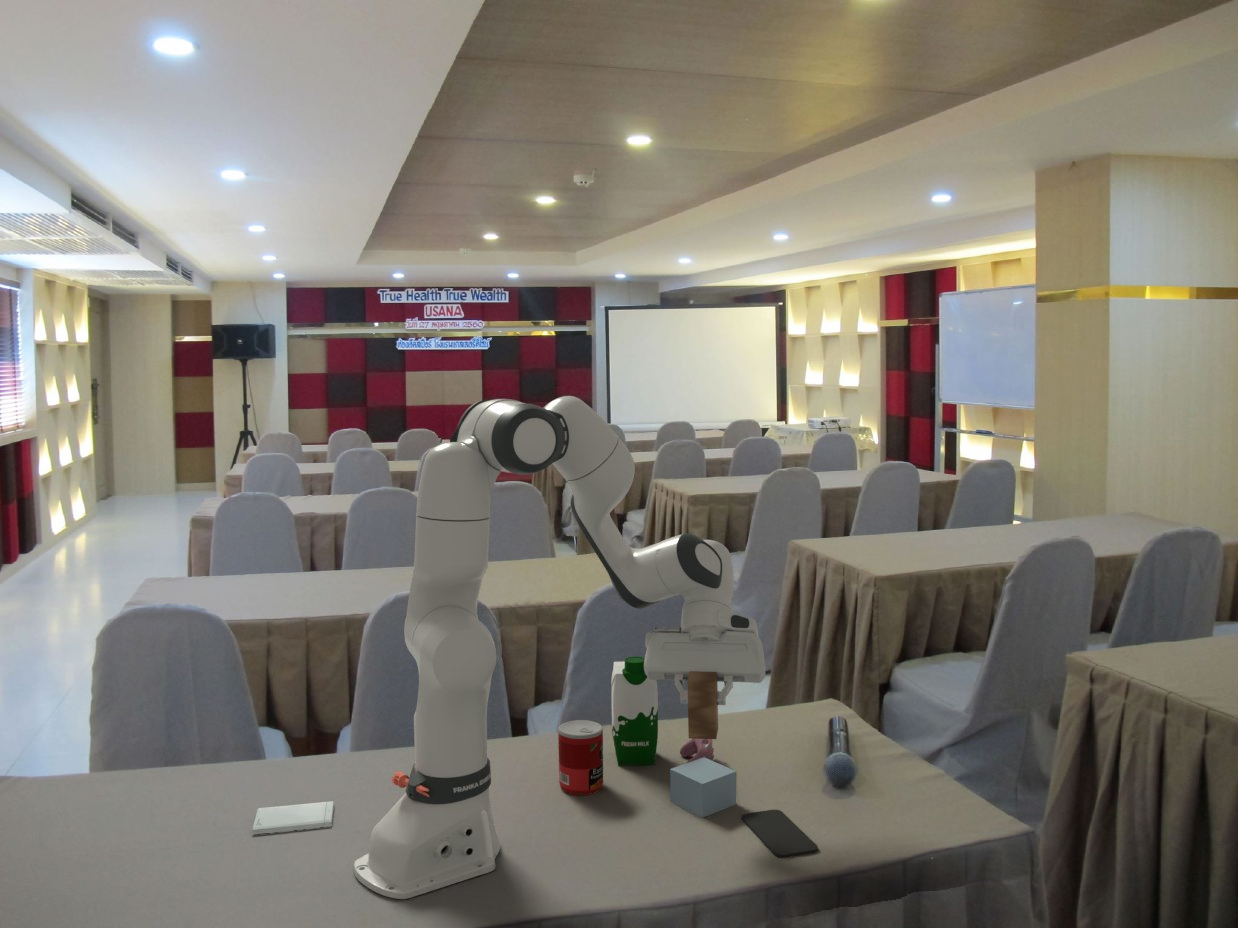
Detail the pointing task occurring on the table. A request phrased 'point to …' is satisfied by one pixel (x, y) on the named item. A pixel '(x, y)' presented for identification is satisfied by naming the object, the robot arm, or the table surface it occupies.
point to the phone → (779, 833)
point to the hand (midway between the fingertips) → (702, 703)
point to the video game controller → (698, 749)
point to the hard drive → (293, 817)
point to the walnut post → (702, 705)
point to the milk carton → (634, 713)
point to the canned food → (580, 757)
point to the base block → (703, 787)
